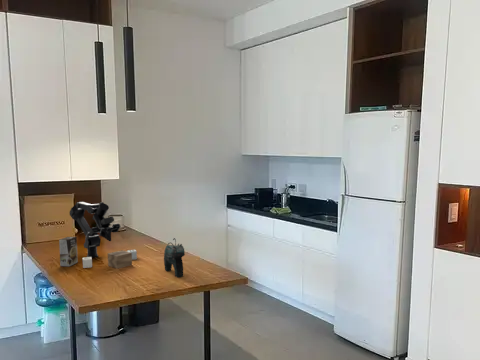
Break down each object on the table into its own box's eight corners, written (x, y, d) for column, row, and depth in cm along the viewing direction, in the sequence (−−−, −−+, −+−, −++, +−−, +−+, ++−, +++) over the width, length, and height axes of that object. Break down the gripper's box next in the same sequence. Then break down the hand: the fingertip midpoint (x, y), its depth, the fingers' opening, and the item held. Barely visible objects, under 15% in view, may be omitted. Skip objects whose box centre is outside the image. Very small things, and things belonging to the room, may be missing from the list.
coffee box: (69, 266, 261) (68, 239, 260) (60, 266, 263) (58, 239, 261) (78, 262, 270) (77, 236, 269) (68, 262, 272) (67, 236, 270)
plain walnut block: (108, 265, 262) (107, 253, 261) (122, 262, 269) (122, 250, 268) (117, 268, 255) (116, 256, 254) (132, 265, 262) (131, 252, 261)
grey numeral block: (127, 258, 278) (127, 250, 278) (135, 257, 280) (135, 249, 280) (128, 260, 274) (128, 251, 273) (136, 259, 276) (136, 251, 275)
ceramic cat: (186, 277, 235) (185, 240, 234) (175, 279, 232) (174, 241, 230) (171, 268, 252) (170, 234, 250) (160, 270, 249) (159, 235, 247)
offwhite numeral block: (82, 266, 262) (82, 257, 262) (91, 265, 264) (91, 256, 264) (83, 268, 258) (82, 259, 257) (92, 267, 259) (91, 258, 259)
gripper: (90, 214, 263) (100, 235, 256) (118, 210, 276) (128, 230, 269) (84, 226, 269) (94, 246, 262) (112, 221, 282) (122, 241, 276)
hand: (110, 240), depth 267 cm, fingers closed
